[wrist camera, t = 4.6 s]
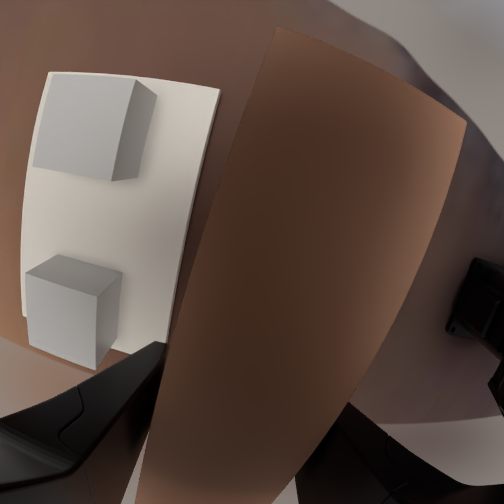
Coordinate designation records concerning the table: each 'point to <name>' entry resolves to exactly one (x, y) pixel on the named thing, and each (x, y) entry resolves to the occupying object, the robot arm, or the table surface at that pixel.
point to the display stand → (109, 210)
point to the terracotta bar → (296, 271)
